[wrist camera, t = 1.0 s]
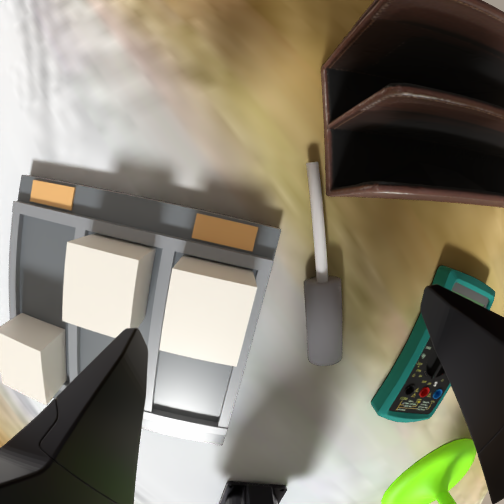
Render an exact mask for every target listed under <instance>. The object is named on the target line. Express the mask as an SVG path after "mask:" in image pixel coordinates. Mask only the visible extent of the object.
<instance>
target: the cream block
mask: <svg viewBox="0 0 504 504" xmlns="http://www.w3.org/2000/svg"><path fill="white" fill-rule="evenodd" d="M155 251H156V248H153V247H149V246H145V245H141V244H137V243H132V242H128V241H124V240H120V239H116V238H112V237H107V236H103V235H99V234H95V233H94V234H91V235H88V236H84V237H81V238H78V239H75V240H71V241H68V242H67V247H66V257H65V269H64V284H63V307H62V321H64V322H67V323H70V324H73V325H76V326H79V327H82V328H85V329H88V330H91V331H94V332H97V333H100V334H104V335H107V336H110V337H114V338H116V337H117V336H118V335H119V334H120V333H121V332H122V331H123V330H124V329H126V328H138V327H139V326H140V324H141V323H142V321H143V320H144V318H145V315H146V307H147V300H148V293H149V287H150V280H151V274H152V268H153V262H154V256H155Z"/></svg>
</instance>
